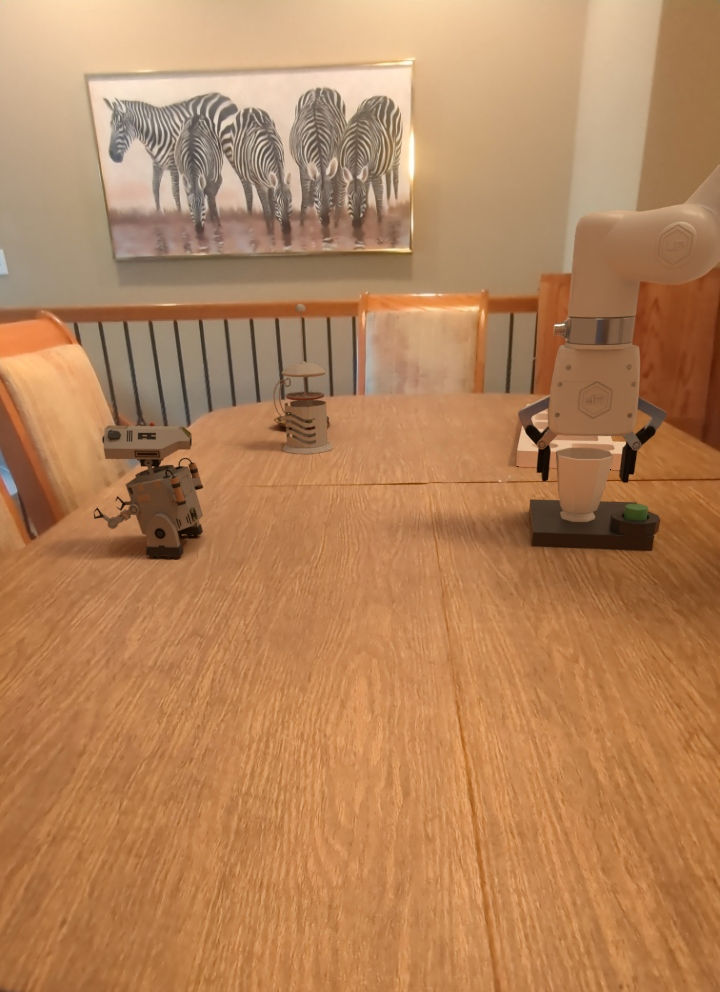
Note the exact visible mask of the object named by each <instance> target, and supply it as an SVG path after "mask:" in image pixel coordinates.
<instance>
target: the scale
mask: <svg viewBox="0 0 720 992" xmlns="http://www.w3.org/2000/svg"><path fill="white" fill-rule="evenodd" d="M628 504H638V502H636V501H608V500H607V501H606V500H605V501H604V500H603V501H602V500H601V501H600V503H599V506H598V508H597V510H596V511H594V512H593V513H594V515H595V519H594V520H591V521H588V522H572V521H568V520H565V519H562V518H561V515H560V512H562V511H563V510H562V508H561V506H560V500H559V499H536V498H535V499H533V498H532V499H531V498H529V507H528V518H529V531H530V542H531V543H530V544H531V547H533V548H535V547H536V548H537V547H538V548H539V547H540V548H560V549H561V548H564V549H590V550H592V549H593V550H613V551H614V550H616V551H617V550H619V551H643V552H644V551H645V552H652V551H653V546H654V540H655V535H656V534H657V533H659V530H660V524H661V517H660V515H659V514H656V513H654V512H651V511H648V514H647V520H642V521H641V520H630V519H625V518H624V513H625V506H626V505H628Z"/></svg>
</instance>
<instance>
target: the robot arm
mask: <svg viewBox="0 0 720 992" xmlns="http://www.w3.org/2000/svg"><path fill="white" fill-rule="evenodd" d="M572 253H573V254H572V262H571V275H570V285H569V297H568V307H567V309H568V310H567V316H566V319H564V321H560V322H555V323H553V336H559V337H562V338H563V339H564V344H562V345H559V347H558V350H557V353H556V356H555V361H554V368H553V372H552V375H551V383H550V389H549V394H547V395H546V396H544V397H542V398H540V399H538V400H536V401H534V402H532V403H529V404H530V405H528V406H526V405H525V406H524V407H522V408H520V409H519V410H518V411H517V417H518V419H519V421H520V423H521V427H522V426H523V428H524V430H525V432H526V434H527V436H528V437H529V438H530V439H531V440H532V441H533V442H534V443H535V444H536V445H537V447H538V458H537V467H536V474H541V480H542V481H541V482H548V481H549V477H550V476H549V475H550V468H549V465H550V453H551V450H550V446H549V444H550V442H551V441H552V440H553V439H554V438H555V437H556V436H557V435H564V436H611V437H623V439H624V440H625V442H626V445H624V447H623V449H622V457H621V464H620V470H619V471H618V472H619V474H618V477H619V480H620V481H621V482H622V483H623V484H628V483H629V480H630V479H629V478H630V476H631V475H632V476H633V475H635V470H636V464H637V456H638V451H639V450H640V449H641V448H642V446H643V445H644V444H645V443H647V442H649V440H651V439H652V438H653V437H654V436H655V435H656V432H657V431H658V429H659V428H660V427H661V425H662V424H663V422H664V421H665V419H666V418H667V414H668V413H667V412H666V411H665V410H664V409H663V408H661V407H659V406H657V405H655V404H653V403H651V402H650V401H648V400H646V399H645V398H643V397H641V396H640V381H641V380H640V379H641V353H640V346H639V345H636V344H633V340H634V333H635V327H636V325H635V324H636V318H637V317H636V315H637V309H638V300H639V293H640V286H641V283H643V282H644V283H651V284H656V285H657V284H658V285H665V286H679V285H684V284H688V283H690V282H692V281H695V280H697V279H701V278H702V277H703V276H705V275H707V274H708V273H709V272H710V271H712V270H713V269H714V268H715V267H716V266H717V265H718V264H719V263H720V163H719V164H718V165H717V166H716V167H715V168H714V169H713V171H712V172H711V173H710V174H709V175H708V177H706V179H705V180H704V181H703V182H702V183H701V184H700V185H699V187H698V188H697V189H696V190H695V191H694V192H693V193H692V194H691V195H690V196H689V197H688V198H687V199H686V200H685V202H683V203H680V204H675V205H670V206H665V207H660V208H654V209H650V210H642V211H638V210H632V209H631V210H630V209H629V210H628V209H624V210H623V209H619V210H618V209H617V210H599V211H593V212H588V213H586V214H584V215H582V216H581V217H580V218H579V219H578V221H577V223H576V227H575V231H574V243H573V252H572ZM546 409H548V426H547V427H546V428H545V429H544V430H543V431H542V433H541V432H540V431H539V430H538V429H537V428H536V427H535V426H534V424H533V422H532V420H531V418H532V416H534V415H536V414H538V413H540V412H542V411H544V410H546ZM638 410H639V411H640V412H642V413H643V414H644V415H645V414H646V415H648V416H649V420H648V421H647V423H646V425H644V426H643V427H642V428H641V429H639V430H638V431H637V432H636V433H635V432H634V430H635V428H636V425H637V424H636V423H637V416H638Z"/></svg>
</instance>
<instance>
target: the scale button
mask: <svg viewBox="0 0 720 992" xmlns="http://www.w3.org/2000/svg"><path fill="white" fill-rule="evenodd" d="M648 512H649V506H648V505H645V504H641V503H637V504H628V505H626V506H625V513H624V518H625V519H630V520H641V521H642V520H647V514H648Z"/></svg>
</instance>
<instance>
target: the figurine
mask: <svg viewBox="0 0 720 992" xmlns="http://www.w3.org/2000/svg"><path fill="white" fill-rule="evenodd" d="M192 435H193V434H192V432H191V431H189V430H188V429H187V428H186V427H184V426H181V425H180V426H171V425H167V426H166V425H163V426H162V425H155V423H154V422H150V423H149V424H148V425H107V426H106V427H105V428H104V435H102V439H101V441H102V444H103V453H104V458H105V460H136V461H139V465H140V467H141V468H144V467H145V468H146V467H147V468H146V469H145V470H141V471H140V472H138V473H136V474H135V476H134V477H135V478H133V479H132V480H130V481H128V482H127V483H125V487H126V490H127V493H128V495H129V496H128V497H129V499H130V500H128V501H127V500H126V501H123V499H121V498H120V496H116V498H115V501H114V502H118V501H119V502H120V503H121V506H120V507H118V506H116V509H118V510H119V511H120V512H119V514H117V515H116V516H112V517H108V516H107V515H106V514H104V513H103V512H101V510H100V509H99V508H98V507H96V508H95V510H93V519H94V520H97V519H103V520H105V521H106V523H107V527H108V528H109V529H111V530H114V529H116V528H117V527H118V526H119V524H121V523H123V522H124V521H125V522H126V521H128V520H130V519H131V518H132V516H136V520H137V522H138V525H139V528H140V531H141V534H142V535H145V537H146V538H145V539H146V546H145V555H146V556H148V557H149V558H150V559H154V558H156V559H161V558H162V557H163V556H164V557H165V558H166V559H168V560H170V559H172V558H173V559H174V560H176V559H178V558H179V557H181V556H182V555H183V554H184V549H183V548H184V547H183V545H182V544H181V542H180V538H181V537H182V536H183V535H184V536H186V537H187V538H191V537H193V538H197V537H198V536H200V535H202V533H204V532H203V526H202V524H200V523H201V522H200V519H201V518H202V517H203V516H204V515H203V510H202V507H201V505H200V501H199V497H198V493H197V491H198V490H202V489H204V485H203V484H202V480H201V477H200V473H199V469H198V466H197V463H196V462H192V460H191V459H190V458H188V457H183V458H181V459H179V461H178V465H177V466H174V465H173V464H164V465H161V464H162V462H163V461H164V460H165V458H167V457H169V456H171V455H172V454H174V453H175V452H178V451H179V450H181V451H182V450H187V451H188V450H189V451H190V450H191V449H192V446H193V437H192ZM184 460H188V461H189V464H188V466H186V465H185V466H184V465H181V462H182V461H184ZM125 506H128V509H124V507H125ZM123 509H124V510H123ZM96 512H98V515H97V516H96Z"/></svg>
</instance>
